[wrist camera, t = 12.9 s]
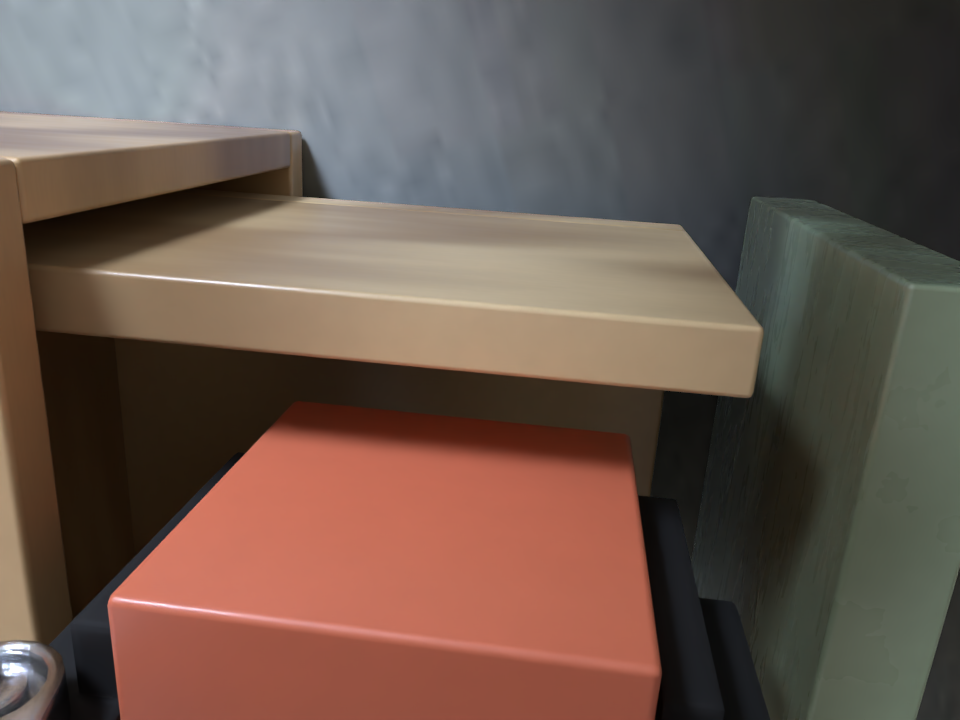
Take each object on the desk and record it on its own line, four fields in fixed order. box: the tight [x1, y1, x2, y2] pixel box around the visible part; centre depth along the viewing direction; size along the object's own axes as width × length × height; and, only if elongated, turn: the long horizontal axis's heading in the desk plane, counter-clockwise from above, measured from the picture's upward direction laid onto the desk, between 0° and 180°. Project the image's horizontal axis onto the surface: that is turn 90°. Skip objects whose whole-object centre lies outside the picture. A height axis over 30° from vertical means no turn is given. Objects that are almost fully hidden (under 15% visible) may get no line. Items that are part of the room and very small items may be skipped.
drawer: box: [23, 189, 960, 720], centre depth 13 cm, size 19×10×8 cm, turn 87°
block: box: [107, 401, 662, 720], centre depth 9 cm, size 5×5×5 cm
